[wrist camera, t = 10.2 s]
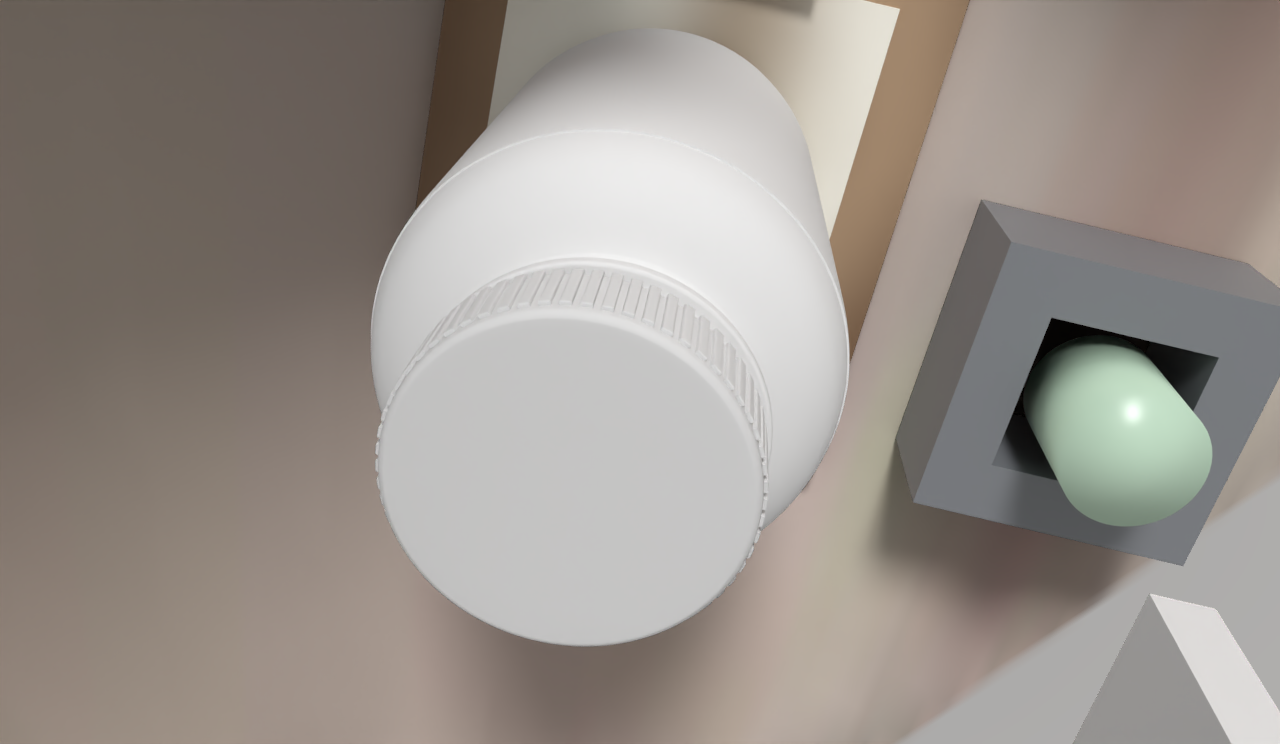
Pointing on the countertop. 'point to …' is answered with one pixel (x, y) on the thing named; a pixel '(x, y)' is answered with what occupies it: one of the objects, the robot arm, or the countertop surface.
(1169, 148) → the countertop surface
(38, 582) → the countertop surface
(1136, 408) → the button
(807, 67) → the clipboard
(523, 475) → the pill bottle
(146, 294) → the countertop surface
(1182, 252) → the button housing
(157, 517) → the countertop surface
